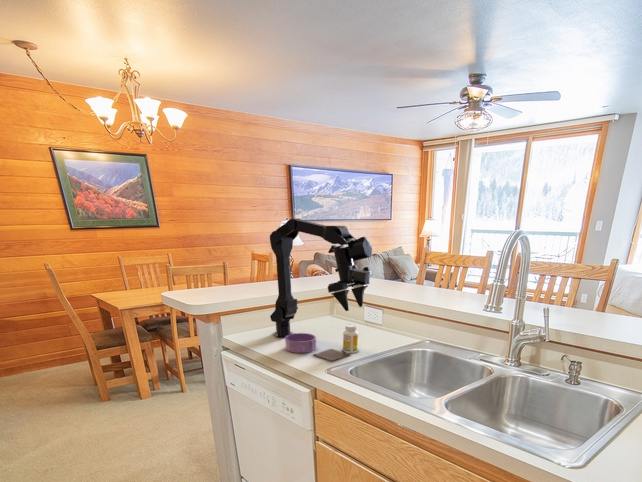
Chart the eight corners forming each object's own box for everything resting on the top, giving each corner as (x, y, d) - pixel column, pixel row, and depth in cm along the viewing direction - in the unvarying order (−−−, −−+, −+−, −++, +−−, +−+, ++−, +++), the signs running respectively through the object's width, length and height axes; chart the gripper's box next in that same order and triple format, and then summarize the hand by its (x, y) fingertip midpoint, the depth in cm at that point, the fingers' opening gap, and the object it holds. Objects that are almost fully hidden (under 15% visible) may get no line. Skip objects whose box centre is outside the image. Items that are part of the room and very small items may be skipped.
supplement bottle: (344, 353, 148) (344, 327, 144) (342, 349, 153) (342, 323, 149) (358, 353, 149) (359, 327, 145) (356, 348, 154) (356, 323, 150)
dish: (283, 345, 155) (282, 334, 153) (312, 343, 159) (311, 332, 157) (288, 355, 145) (288, 342, 144) (319, 352, 149) (319, 340, 147)
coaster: (313, 355, 146) (313, 354, 146) (331, 349, 152) (331, 349, 152) (332, 361, 141) (331, 360, 140) (349, 355, 147) (349, 354, 147)
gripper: (349, 260, 131) (359, 309, 135) (377, 257, 145) (386, 301, 149) (322, 267, 137) (332, 314, 141) (351, 263, 151) (360, 306, 156)
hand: (354, 308), depth 147 cm, fingers open, 9 cm apart
